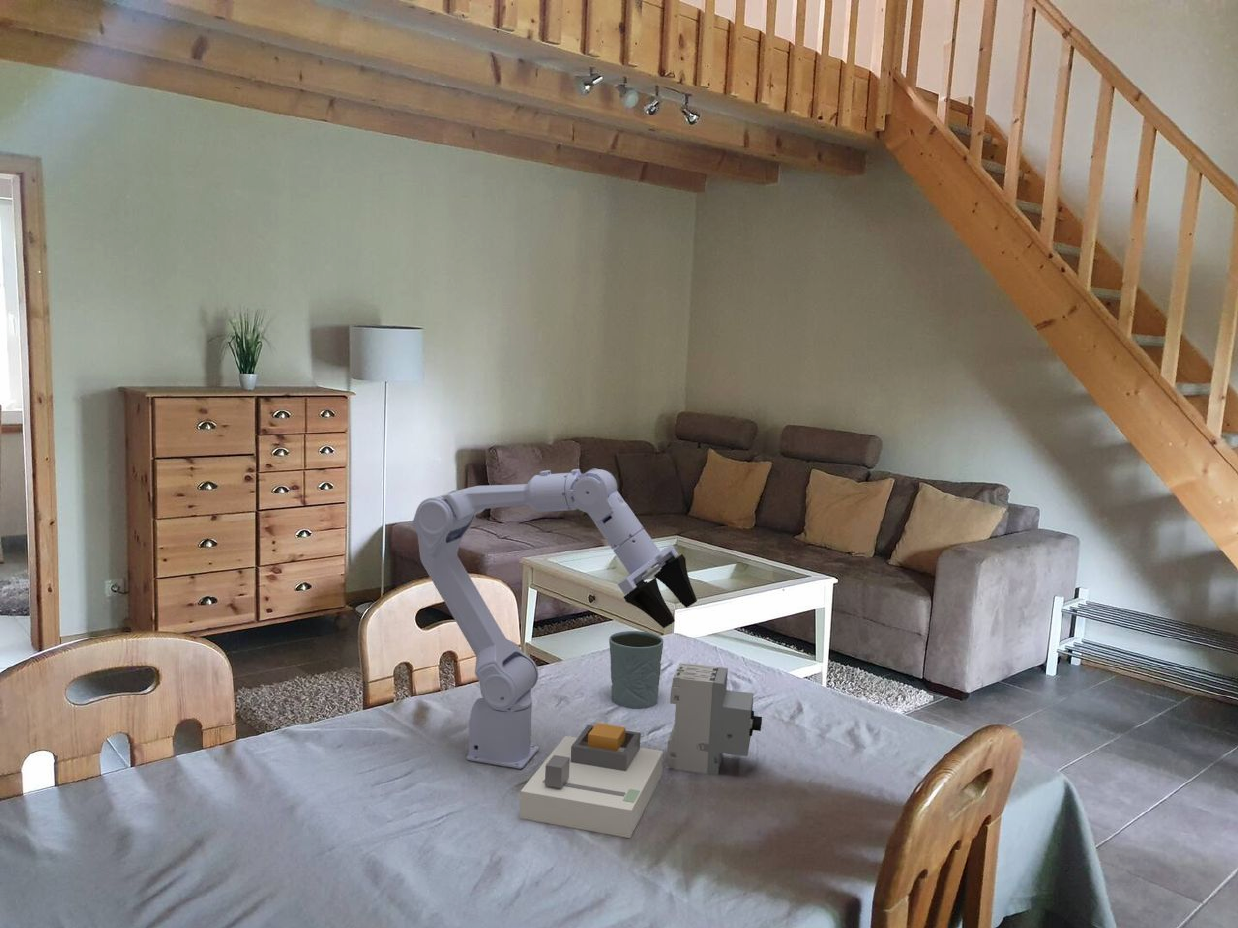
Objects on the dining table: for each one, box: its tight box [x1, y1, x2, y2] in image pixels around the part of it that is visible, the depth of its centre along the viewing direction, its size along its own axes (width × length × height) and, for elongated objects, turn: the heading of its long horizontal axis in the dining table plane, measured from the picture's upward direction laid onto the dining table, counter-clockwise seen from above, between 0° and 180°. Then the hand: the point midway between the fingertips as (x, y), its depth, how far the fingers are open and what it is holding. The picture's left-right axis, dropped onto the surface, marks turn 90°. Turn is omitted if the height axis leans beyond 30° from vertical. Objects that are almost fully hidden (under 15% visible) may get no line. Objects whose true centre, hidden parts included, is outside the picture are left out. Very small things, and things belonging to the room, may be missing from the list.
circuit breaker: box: [666, 662, 763, 776], centre depth 153 cm, size 8×14×15 cm, turn 78°
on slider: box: [545, 755, 570, 788], centre depth 136 cm, size 2×4×3 cm, turn 165°
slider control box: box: [519, 724, 664, 839], centre depth 141 cm, size 16×20×6 cm
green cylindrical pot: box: [608, 630, 664, 710], centre depth 179 cm, size 10×10×12 cm
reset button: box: [588, 722, 626, 751], centre depth 146 cm, size 5×5×2 cm
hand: (680, 614), depth 142 cm, fingers open, 7 cm apart
